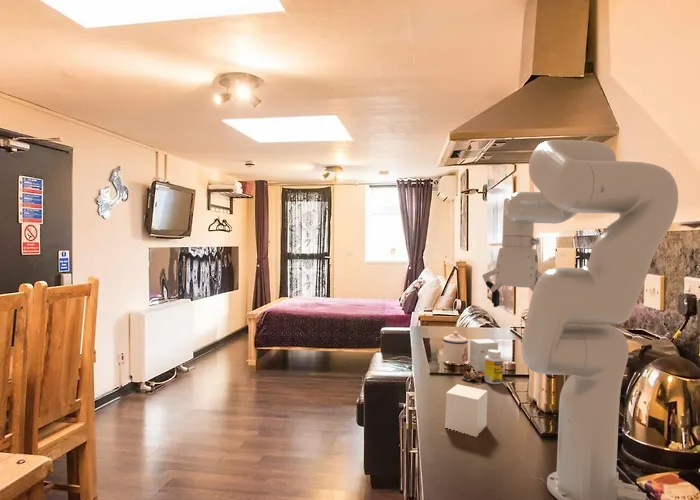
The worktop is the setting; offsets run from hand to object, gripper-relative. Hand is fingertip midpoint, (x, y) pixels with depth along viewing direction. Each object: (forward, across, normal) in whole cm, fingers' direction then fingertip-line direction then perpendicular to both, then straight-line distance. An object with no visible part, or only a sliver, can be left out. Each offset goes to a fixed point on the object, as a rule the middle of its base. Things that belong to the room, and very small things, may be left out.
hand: (515, 308), depth 116 cm
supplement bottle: (+28, +12, -25) cm, 40 cm away
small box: (+29, +18, -36) cm, 49 cm away
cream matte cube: (+28, +7, +14) cm, 33 cm away
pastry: (+29, +17, -26) cm, 43 cm away
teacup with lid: (+28, +30, -40) cm, 58 cm away
